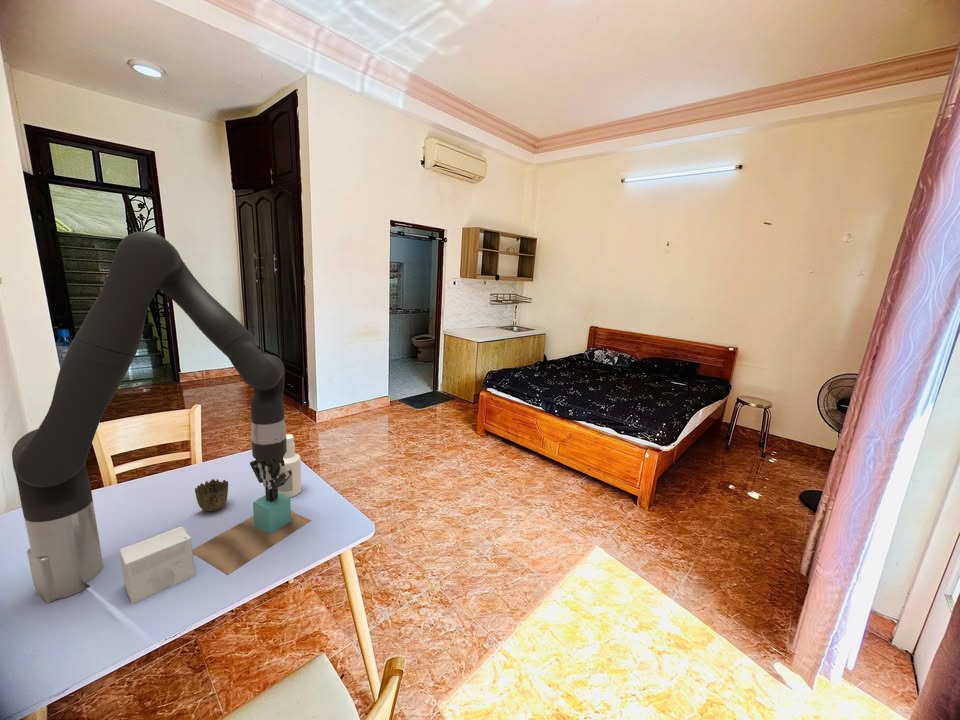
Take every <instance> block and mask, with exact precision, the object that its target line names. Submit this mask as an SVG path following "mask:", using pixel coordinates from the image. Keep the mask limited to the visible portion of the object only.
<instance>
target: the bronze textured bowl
mask: <svg viewBox="0 0 960 720" xmlns="http://www.w3.org/2000/svg"><path fill="white" fill-rule="evenodd" d="M194 493H195V498H196V501H197V504H198V506H199V508H200V509H201V510H203V511H206V512H215V511H218V510H219V509H221V508H222V507H223V506H224V505H225V504H226V503H227V500H228V494H229V481H228V480H226V479H223V480H222V481H219V479H214V478H212V479H211V480H210V481H209V482H208V480H205V482H204V483H200V484H198V485H197V486H196V487H195V488H194Z"/></svg>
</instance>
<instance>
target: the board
mask: <svg viewBox="0 0 960 720" xmlns="http://www.w3.org/2000/svg"><path fill="white" fill-rule="evenodd" d="M311 521H312V519H309V518H307V517H305V516H303V515H301V514H298V513H296V512H295V511H292V510H291V522H290V523H288V524H286V525H285V526H283V527H282V528H280V529H278V530H277V531H275V532H273V533H272V534H268V533H266V532H264V531H262V530H261V529H259V528H257V527H255V526H254V515H252V516H251V517H249V518H248V519H245V520H244V521H242V522H240V523H238V524H236V525H235V526H233V527H231V528H229V529H227V530H226V531H223V532H222V533H220V534H218V535H216V536H214V537H213V538H210V539H209V540H207V541H206V542H203V543H202V544H200V545H198V546H196V547H195V548H192V552H193V556H196V557H197V558H199V559H201V560H202V561H204V562H205V563H207V564H209V565H210V566H212V567H214V568H215V569H216V570H219V571H220V572H221V573H223V574H225V575H227V576H229V575H230V574H232V573H234V571H237V570H238V569H240V568H241V567H243V566H245V565H246V564H248V563H249V562H251V561H252V560H254V559H255V558H257V557H258V556H260V555H261V554H262V553H264V552H266V551H267V550H269V549H270V548H272V547H273V546H275V545H277V544H278V543H279V542H281V541H283V540H284V539H285V538H287V537H289V536H290V535H292V534H294V533H295V532H296V531H298V530H299V529H301V528H302V527H304V526H306V525H307V524H309V523H311Z"/></svg>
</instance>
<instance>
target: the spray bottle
mask: <svg viewBox="0 0 960 720" xmlns="http://www.w3.org/2000/svg"><path fill="white" fill-rule="evenodd" d="M294 439H295V438H294V436H293V434H291V433H290V434H289V433H288V434H287V433H286V444H287V451H286V453H285V455H284V457H283V460H284V462H285V466H284V467H285V469H286V470H287V471H289V470H290V471H291V472H292V475H291V476H290V477H289V479H288V480H287V481H286V483H285V484H284V485H282V486H280V487H278V493H281V494H283V495H285V496H288V497H290V498H293V497H295V496H297V495H299V494H300V493H301V492H302V463H301V462H302V460H301V459H302V458H301V456H300V454H298V453H296V445H295V441H294Z"/></svg>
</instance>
